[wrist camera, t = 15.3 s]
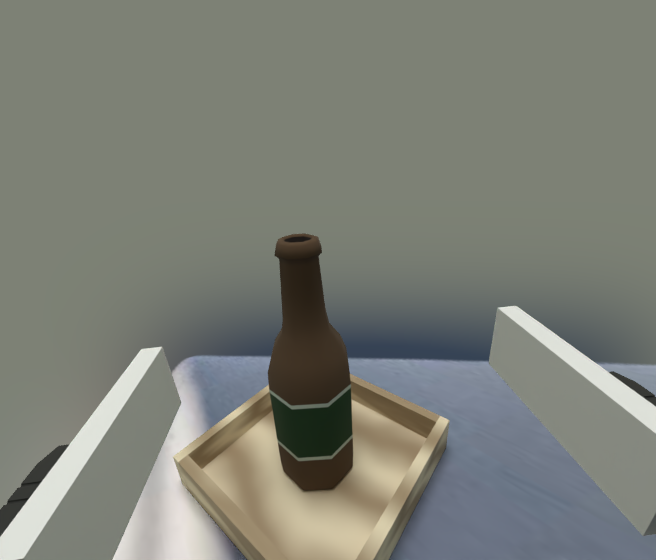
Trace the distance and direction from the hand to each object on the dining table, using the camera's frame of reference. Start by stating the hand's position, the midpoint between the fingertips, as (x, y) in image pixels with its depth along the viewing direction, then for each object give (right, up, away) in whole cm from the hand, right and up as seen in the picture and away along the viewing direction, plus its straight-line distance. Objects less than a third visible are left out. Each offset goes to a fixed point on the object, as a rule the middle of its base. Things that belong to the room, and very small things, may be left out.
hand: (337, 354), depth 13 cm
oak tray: (-1, -17, +21) cm, 27 cm away
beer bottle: (-1, -16, +21) cm, 26 cm away
